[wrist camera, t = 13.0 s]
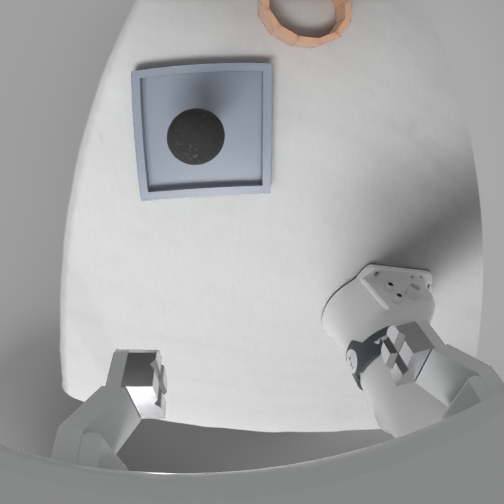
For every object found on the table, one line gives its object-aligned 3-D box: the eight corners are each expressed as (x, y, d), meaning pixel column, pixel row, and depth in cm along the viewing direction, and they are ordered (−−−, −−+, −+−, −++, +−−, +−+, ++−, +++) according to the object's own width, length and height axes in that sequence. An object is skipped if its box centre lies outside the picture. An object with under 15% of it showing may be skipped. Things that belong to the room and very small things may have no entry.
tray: (269, 64, 32) (272, 63, 31) (267, 188, 40) (270, 193, 38) (134, 72, 30) (131, 71, 29) (143, 196, 38) (141, 200, 36)
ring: (340, -18, 27) (349, -24, 24) (341, 51, 32) (351, 49, 29) (258, -29, 26) (262, -37, 23) (258, 44, 31) (262, 39, 28)
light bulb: (227, 146, 36) (230, 164, 27) (181, 156, 36) (169, 177, 27) (218, 101, 33) (219, 103, 24) (171, 111, 33) (156, 117, 24)
